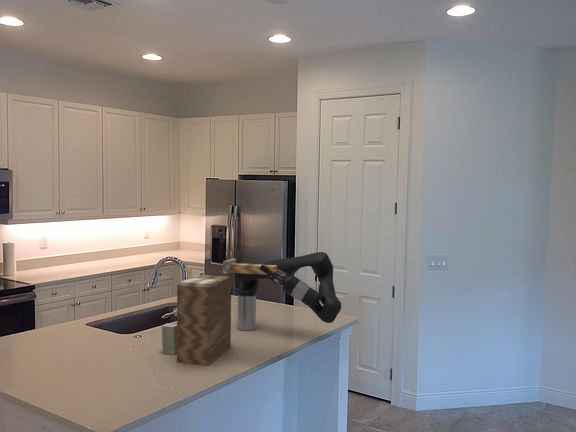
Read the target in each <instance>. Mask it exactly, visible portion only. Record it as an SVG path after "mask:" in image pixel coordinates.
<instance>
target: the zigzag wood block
mask: <svg viewBox="0 0 576 432" xmlns="http://www.w3.org/2000/svg"><path fill="white" fill-rule="evenodd" d="M176 286H177V293H176V295H177V296H176V297H177V298H176V299H177V300H176V301H177V303H176V310H177V311H176V319H177V320H176V324H177V353H176V362H177V363H182V364H189V365H198V366H204V367H205V366H206V367H209V366H210V365H211V364H213V363H214V362H215V361H216V360H217V359H219V358H220V357H221V356H222V355H224V354H225V353H226V352H227V351H228V350H230V349H231V346H232V345H231V340H232V339H231V337H232V336H231V334H232V333H231V332H232V331H231V329H232V276H227V275H226V276H224V275H223V276H222V275H210V274H201V275H198V276H196V277H189V278H187V279H184V280H181V281H180V283H178V284H177V285H176Z"/></svg>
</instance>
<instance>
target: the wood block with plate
mask: <svg viewBox="0 0 576 432" xmlns="http://www.w3.org/2000/svg"><path fill="white" fill-rule="evenodd" d="M260 264H261V263H257V264H255V263H254V264H245V263H238V262H237V258H228V259H226V260H223V261H222V274H227V275H229V274H231V273H233V274H234V273H247V274H264V275H267V274H266V273H265V272H263V271H262V270H260V267H261V266H262V265H260ZM264 266H266V267H267V268H269V269H270V270H272V271H274V272H275V271H276V272H277V265H264ZM275 275H276V274H275Z"/></svg>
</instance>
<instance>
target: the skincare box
mask: <svg viewBox="0 0 576 432" xmlns="http://www.w3.org/2000/svg"><path fill="white" fill-rule="evenodd" d="M161 342H162V343H161V344H162V349H161V350H162V351H161V353H162V354H166V355H167V354H168V355H177V323H169V322H167V323H165V324H162V325H161Z"/></svg>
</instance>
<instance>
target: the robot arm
mask: <svg viewBox="0 0 576 432" xmlns="http://www.w3.org/2000/svg"><path fill="white" fill-rule="evenodd" d="M244 264H255V263H254V262H251V261H250V262H245V263H244ZM259 264H260V265H262V266H261V267H260V270H262V271H263V272H265V273H266V274H267V275H264V274H247V273H233V274H234V277H235V279H236V280H237V281H238V282H240V283H241V285H240V287H239V288H238V289H237V320H236V321H237V330H240V331H243V332H244V331H254V330H255V329H256V327H257V324H256V323H257V292H258V291H257V290H258V287H259V280H271V282H273V283H274V284H276V285H277V284H278V285H281V286H283V287H282V291H284V292H285V293H287V294H288V295H289V296H290V297H293V298H294V299H295V300H297V301H299V302H302V303H303V304H304V305H306V306H308V307H309V308H310V309H311V310H312V312H313V313H314V314H315V315H316V316H317V317H318V319H320V320H321V321H323V323H327V324H331V323H334V321H335V320H336V318H337V317H338V315H339V313H340V312H341V311H342V302H341V301H340V299H339V297H338V296H337V294H336V289H335V286H334V285H335V284H334V266H333V263H332V261H331V259H330V256H329V255H328V254H327V252H324V251H319V252H317V251H316V252H313V253H309V254H304V255H299V256H293V257H287V258H277V259H272V260H268V261H265V262H262V263H259ZM264 265H277V272H276V271H275V272H274V271H272V270H270V269H269V268H267V267H266V266H264ZM305 267H306V268H307V267H311V269H312V271H313V274H315V275H316V277H317V279H318V281H319V285H318V290H316V289H314V288H312V287H311V286H310V285H308V284H307V283H306V282H304V281H303V280H301V279H300V278H298V277H296V276H295V274H296V273H297V272H298V271H299V270H300V269H301V268H302V269H303V268H305ZM275 274H276V275H275Z"/></svg>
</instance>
